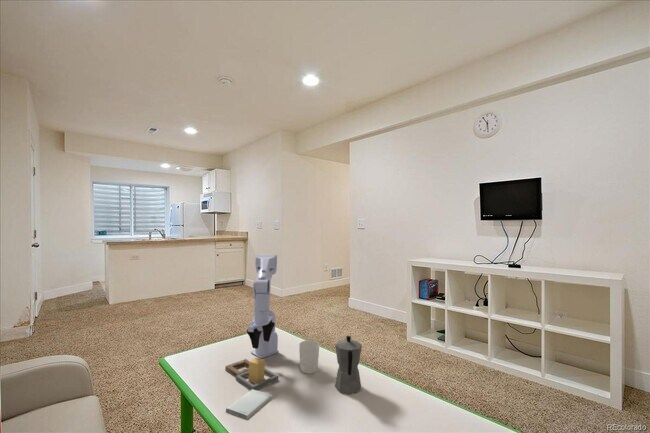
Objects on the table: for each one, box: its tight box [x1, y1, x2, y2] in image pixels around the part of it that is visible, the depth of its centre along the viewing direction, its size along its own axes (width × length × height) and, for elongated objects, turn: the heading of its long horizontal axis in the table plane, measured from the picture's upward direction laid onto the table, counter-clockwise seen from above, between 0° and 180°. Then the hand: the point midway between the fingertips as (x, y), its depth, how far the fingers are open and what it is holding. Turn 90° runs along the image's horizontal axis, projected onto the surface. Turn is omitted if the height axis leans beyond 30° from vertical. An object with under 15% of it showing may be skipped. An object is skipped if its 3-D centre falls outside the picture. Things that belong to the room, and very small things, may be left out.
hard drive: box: [225, 389, 272, 420], centre depth 99 cm, size 2×8×12 cm
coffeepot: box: [334, 335, 363, 395], centre depth 109 cm, size 15×9×18 cm, turn 179°
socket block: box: [224, 358, 250, 378], centre depth 121 cm, size 9×9×2 cm
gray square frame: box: [235, 367, 279, 391], centre depth 114 cm, size 11×11×2 cm
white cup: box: [298, 340, 320, 374], centre depth 123 cm, size 8×8×10 cm
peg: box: [248, 357, 266, 384], centre depth 114 cm, size 4×4×7 cm
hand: (261, 344), depth 123 cm, fingers open, 7 cm apart
